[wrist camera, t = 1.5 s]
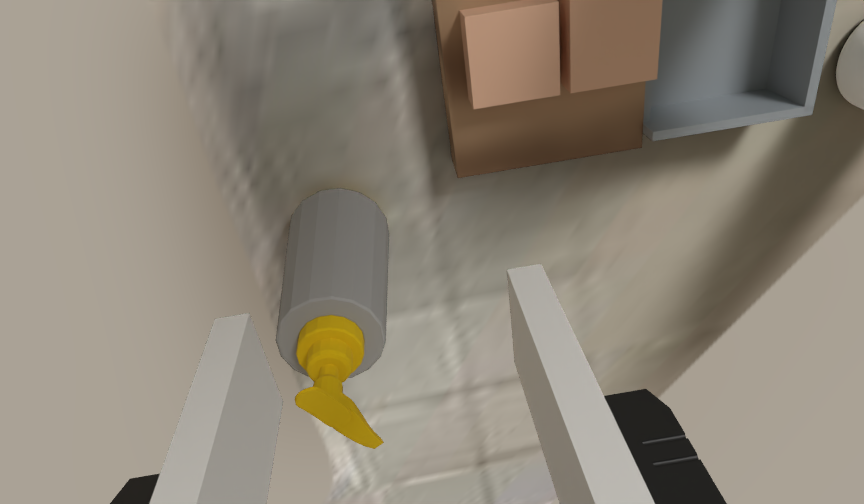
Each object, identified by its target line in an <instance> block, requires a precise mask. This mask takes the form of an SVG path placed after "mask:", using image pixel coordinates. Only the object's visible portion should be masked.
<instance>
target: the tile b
mask: <svg viewBox="0 0 864 504" xmlns="http://www.w3.org/2000/svg"><path fill="white" fill-rule="evenodd" d="M662 1H663V0H559V11H560V65H561V84H562V85H563V86H564V87H565V88H566V89H567V90H568V91H569V92H570V93H576V92H582V91H588V90H594V89H600V88H606V87H613V86H619V85H625V84H631V83H637V82H643V81H649V80H655V79H657V74H658V60H659V45H660V30H661V16H662Z"/></svg>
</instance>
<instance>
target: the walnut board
mask: <svg viewBox="0 0 864 504" xmlns="http://www.w3.org/2000/svg"><path fill="white" fill-rule="evenodd" d="M514 1H520V0H432V5H433V13H434V21H435V29H436V36H437V44H438V52H439V60H440V68H441V76H442V84H443V92H444V100H445V108H446V116H447V124H448V131H449V139H450V147H451V155H452V161H453V164H454V167H455V170H456V174H457V177H458V178H462V177H468V176H474V175H480V174H486V173H492V172H498V171H504V170H510V169H516V168H522V167H528V166H534V165H540V164H546V163H552V162H558V161H564V160H570V159H576V158H582V157H588V156H594V155H600V154H606V153H612V152H618V151H624V150H630V149H636V148H642V135H643V118H644V101H645V83H646V81H643V82H637V83H631V84H625V85H619V86H613V87H606V88H600V89H594V90H588V91H582V92H576V93H570V92H569V91H568V90H567V89H566V88H565V87H564V86H563V85H562V84H561V65H560V95H558V96H552V97H546V98H540V99H534V100H528V101H522V102H515V103H509V104H503V105H497V106H491V107H485V108H479V109H473V107H472V105H471V103H470V101H469V99H468V89H467V80H466V70H465V60H464V51H463V41H462V32H461V22H460V12H459V10H465V9H471V8H477V7H483V6H489V5H495V4H502V3H508V2H514ZM557 1H559V0H557ZM559 46H560V11H559Z"/></svg>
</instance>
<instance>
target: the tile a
mask: <svg viewBox="0 0 864 504" xmlns="http://www.w3.org/2000/svg"><path fill="white" fill-rule="evenodd" d="M459 12H460V22H461V32H462V41H463V51H464V60H465V70H466V80H467V89H468V99H469V101H470V103H471V105H472V107H473V109H479V108H485V107H491V106H497V105H503V104H509V103H515V102H522V101H528V100H534V99H540V98H546V97H552V96H558V95H560V46H559V1H557V0H520V1H514V2H508V3H502V4H495V5H489V6H483V7H477V8H471V9H465V10H459Z"/></svg>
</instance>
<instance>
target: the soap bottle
mask: <svg viewBox="0 0 864 504" xmlns="http://www.w3.org/2000/svg"><path fill="white" fill-rule="evenodd" d="M388 254H389V231H388V225H387V220H386V217H385V215H384V214H383V212H382V211H381V210H380V208H379V207H378V205H377V204H376V203H375V202H374V201H372V200H371V199H369V198H368V197H366V196H364V195H363V194H361V193H360V192H356V191H351V190H346V189H341V188H337V189H330V190H323V191H319V192H317V193H315V194H313V195H312V196H310V197H308V198H306V199H305V200H303V201H302V202H301V204H300V205H299V206H298V208H297V209H296V210H295V212H294V213H293V214H292V218H291V223H290V228H289V235H288V243H287V251H286V260H285V268H284V276H283V285H282V293H281V301H280V309H279V318H278V326H277V334H276V343H277V346H278V349H279V352H280V355H281V357H282V358H283V359H284V360H285V361H286V362H287V363H288V364H289V365H290V366H291V367H292V368H293V369H294V370H296V371H298V372H300V373H302V374H304V375H307V376H309V377H310V378H311V379H312V380H313V381H314V385H313V387H309V388H306V389H304V390H302V391H301V392H299V393H298V394H297V395H296V397H295V402H296V405H297V406H298V407H299V408H301V409H303V410H305V411H307V412H308V413H310V414H311V415H313V416H315V417H316V418H318V419H319V420H321V421H322V422H323V423H325V424H326V425H328V426H330V427H333V428H334V429H335V430H336V431H338V432H340V433H341V434H343V435H344V436H346V437H348V438H349V439H351V440H353V441H355V442H357V443H359V444H361V445H363V446H366V447H370V448H373V449H375V448H376V447H378V446H379V445H381V444H382V443H384V442H383V441H382V439H381V438H380V437H379V436H378V435H377V434H376V433H375V432H374V431H373V430H372V429H371V427H370V426H369V425H368V423H367V422H366V420H365V418H364V417H363V415H362V414H361V412H360V411H359V409H358V408H357V406H356V405H355V403H354V402H353V401H352V400H351V399H350V398H348V397H347V396H346V395H344V394H343V386H342V382H344V381H345V380H346V379H347V378H352V377H354V376H356V375H358V374H360V373H362V372H364V371H366V370H368V369H369V368H370V367H371V366H372V365H373V364H374V363H375V362H376V361H377V360H378V359H379V358H380V357H381V354H382V351H383V348H384V344H385V341H386V316H387V285H388Z"/></svg>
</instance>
